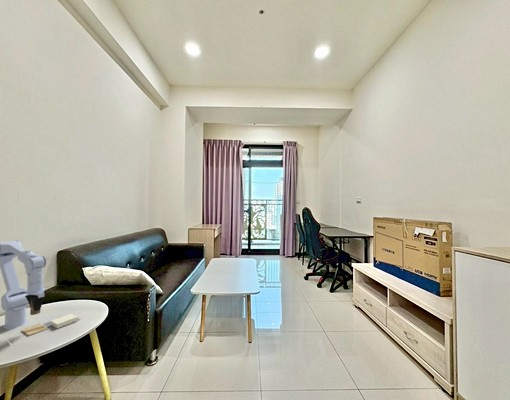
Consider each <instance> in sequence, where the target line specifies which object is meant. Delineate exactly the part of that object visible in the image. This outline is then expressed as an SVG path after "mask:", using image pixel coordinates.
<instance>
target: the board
mask: <svg viewBox="0 0 510 400" xmlns="http://www.w3.org/2000/svg"><path fill="white" fill-rule="evenodd" d="M47 330H48V327H47V326H45V325H43V323H38V324H35V325H32V326H28V327H25V328H22V329H21V332H22V333H24V334H25V335H26V336H27V337H30V336H33V335H36V334H40V333H41V332H44V331H47Z"/></svg>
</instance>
